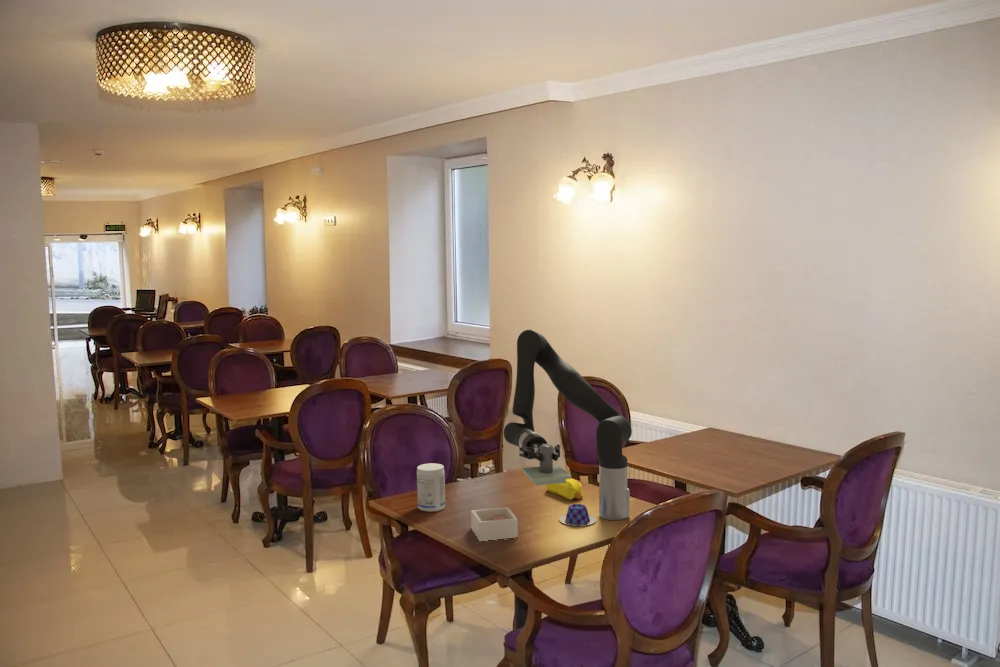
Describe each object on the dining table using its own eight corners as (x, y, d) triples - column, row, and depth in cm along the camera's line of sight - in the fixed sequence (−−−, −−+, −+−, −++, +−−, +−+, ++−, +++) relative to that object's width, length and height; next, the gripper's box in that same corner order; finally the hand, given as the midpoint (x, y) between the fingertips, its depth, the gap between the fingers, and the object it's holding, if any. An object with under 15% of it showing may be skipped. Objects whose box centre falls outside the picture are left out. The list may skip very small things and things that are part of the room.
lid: (558, 472, 243) (558, 440, 242) (571, 483, 231) (571, 449, 230) (522, 475, 240) (521, 442, 239) (533, 486, 228) (532, 452, 227)
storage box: (507, 525, 247) (507, 507, 247) (517, 538, 236) (517, 519, 235) (471, 528, 245) (471, 510, 244) (479, 541, 233) (479, 522, 232)
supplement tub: (435, 502, 272) (434, 461, 271) (450, 508, 265) (450, 466, 263) (412, 507, 266) (411, 466, 265) (427, 514, 259) (426, 471, 257)
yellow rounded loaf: (557, 487, 289) (541, 490, 285) (557, 469, 289) (540, 472, 284) (588, 499, 274) (571, 503, 270) (588, 481, 274) (571, 484, 269)
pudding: (555, 516, 256) (555, 501, 256) (590, 514, 258) (590, 499, 257) (563, 529, 244) (563, 513, 244) (600, 526, 246) (600, 511, 246)
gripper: (511, 434, 246) (526, 447, 230) (553, 431, 250) (571, 444, 233) (511, 457, 247) (526, 471, 231) (553, 454, 251) (571, 468, 234)
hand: (549, 457), depth 232 cm, fingers closed on lid, 4 cm apart
